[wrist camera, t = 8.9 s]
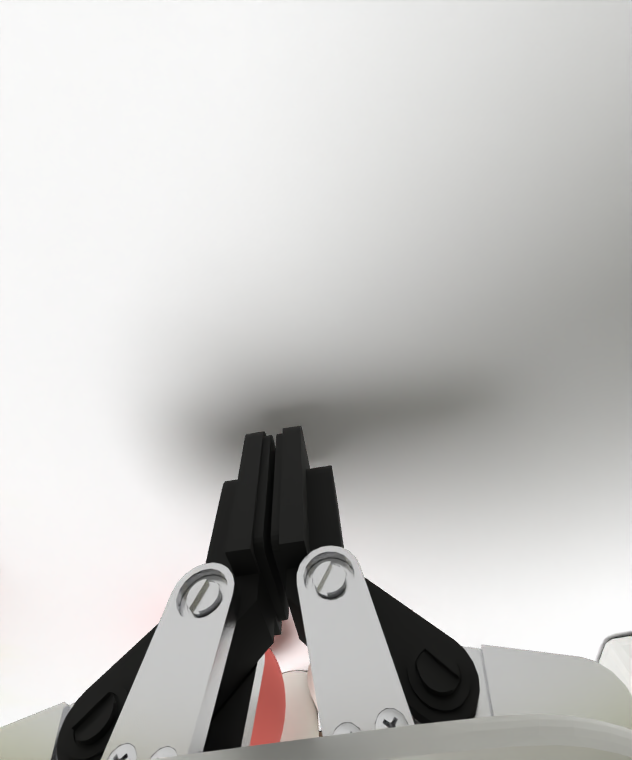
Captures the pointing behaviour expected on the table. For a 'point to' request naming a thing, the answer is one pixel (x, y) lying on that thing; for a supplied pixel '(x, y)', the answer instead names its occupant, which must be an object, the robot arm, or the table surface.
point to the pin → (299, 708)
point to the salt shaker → (619, 659)
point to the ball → (269, 704)
